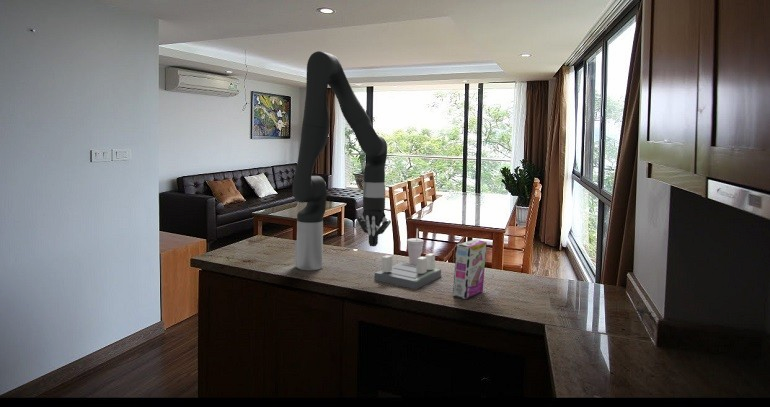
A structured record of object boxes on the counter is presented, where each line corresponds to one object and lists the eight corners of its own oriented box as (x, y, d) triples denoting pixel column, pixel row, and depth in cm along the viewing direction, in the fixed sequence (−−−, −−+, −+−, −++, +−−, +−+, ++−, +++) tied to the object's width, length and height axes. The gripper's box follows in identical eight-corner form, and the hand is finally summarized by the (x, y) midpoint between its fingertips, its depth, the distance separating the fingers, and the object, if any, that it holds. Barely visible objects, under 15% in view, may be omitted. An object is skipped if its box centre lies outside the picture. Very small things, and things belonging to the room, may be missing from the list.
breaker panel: (374, 279, 158) (375, 256, 157) (401, 268, 173) (402, 247, 172) (416, 289, 150) (417, 264, 149) (440, 276, 165) (441, 254, 164)
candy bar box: (466, 300, 141) (469, 246, 139) (452, 296, 144) (455, 244, 142) (484, 292, 149) (487, 241, 147) (470, 288, 153) (473, 238, 150)
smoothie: (421, 267, 176) (423, 230, 174) (404, 266, 177) (406, 229, 175) (423, 263, 182) (425, 227, 180) (407, 261, 183) (408, 226, 181)
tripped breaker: (381, 271, 158) (382, 256, 157) (387, 269, 161) (387, 255, 160) (386, 272, 157) (387, 257, 156) (392, 270, 160) (392, 255, 159)
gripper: (351, 194, 159) (351, 245, 161) (384, 197, 152) (383, 250, 154) (364, 193, 165) (363, 241, 167) (396, 196, 158) (395, 246, 160)
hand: (373, 245), depth 160 cm, fingers closed
